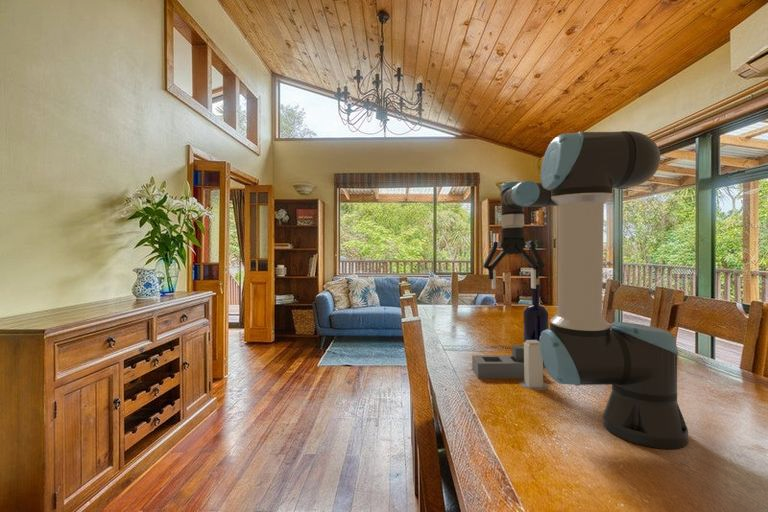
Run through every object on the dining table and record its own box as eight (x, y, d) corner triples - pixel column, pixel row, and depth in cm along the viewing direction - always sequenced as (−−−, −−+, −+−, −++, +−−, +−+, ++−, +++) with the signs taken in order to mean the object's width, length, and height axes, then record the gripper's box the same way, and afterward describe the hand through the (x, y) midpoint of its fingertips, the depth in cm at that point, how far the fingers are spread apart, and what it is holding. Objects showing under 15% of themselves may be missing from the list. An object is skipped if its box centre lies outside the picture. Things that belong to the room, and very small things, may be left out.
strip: (543, 379, 113) (543, 350, 113) (478, 379, 114) (477, 350, 114) (531, 369, 123) (531, 342, 123) (471, 369, 124) (471, 342, 124)
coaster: (553, 391, 104) (553, 389, 104) (524, 391, 104) (524, 389, 104) (542, 381, 112) (542, 379, 112) (515, 381, 112) (515, 379, 112)
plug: (543, 387, 106) (542, 342, 106) (529, 387, 106) (528, 343, 106) (537, 382, 110) (537, 339, 110) (524, 382, 110) (523, 339, 110)
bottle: (554, 364, 128) (554, 278, 127) (528, 364, 128) (527, 278, 127) (543, 357, 137) (543, 276, 136) (519, 357, 137) (518, 277, 137)
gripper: (544, 227, 130) (545, 287, 131) (474, 228, 132) (475, 287, 132) (553, 225, 123) (554, 289, 123) (478, 227, 124) (479, 289, 124)
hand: (513, 288), depth 127 cm, fingers open, 13 cm apart
